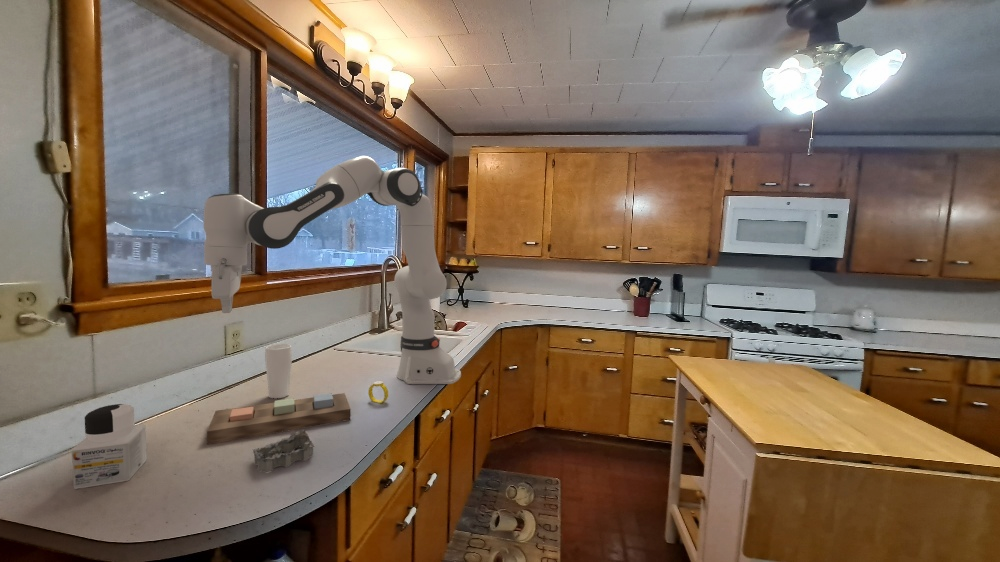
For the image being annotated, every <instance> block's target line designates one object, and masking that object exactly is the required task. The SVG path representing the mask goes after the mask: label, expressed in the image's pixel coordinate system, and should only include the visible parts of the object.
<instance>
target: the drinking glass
mask: <svg viewBox="0 0 1000 562" xmlns="http://www.w3.org/2000/svg"><path fill="white" fill-rule="evenodd" d="M292 347H293V346H292V345H291V344H290V343H275V344H269V345H267V346H266V347H265V352H264V353H265V354H264V355H265V356H264V358H265V359H264V360H265V369H266V379H267V387H268V388H267V389H268V397H269V398H270V399H273V398H274V399H277V398H278V399H284V398H285V397H288V396H289V394H290V386H291V385H290V384H291V372H292V362H293V361H292V360H293V348H292Z"/></svg>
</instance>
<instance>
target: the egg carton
mask: <svg viewBox="0 0 1000 562" xmlns="http://www.w3.org/2000/svg"><path fill="white" fill-rule="evenodd" d="M298 448H299V449H298ZM314 448H315V445H314V443H313V441H312V440H311V439H310V436H309V434H308V433H307V431H306V429H303V430H298V431H295V432H293V433H291V434H290V435H289V437H286V438H281V439H280V440H279V441H276V442H271V443H269V444H267V445H265V446H263V447H261V448H260V447H258V448H254V449H252V453H253V454H254V463H253V464H254V465H257V472H258V473H261V472H264V473H266V474H267V473H271V472H272V471H274V468H277V467H280V466H282V467H285V468H286V467H289V466H292V464H293V463H294V462H296V461H303V462H305V461H309V460H310V458H311V457H312V456H313V454H314ZM295 449H297V450H295Z"/></svg>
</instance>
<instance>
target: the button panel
mask: <svg viewBox="0 0 1000 562" xmlns="http://www.w3.org/2000/svg"><path fill="white" fill-rule="evenodd" d="M332 396H333V406H332V407H325V408H318V409H314V396H313V397H307V398H306V397H305V398H301V399H299V398H298V399H294V410H295V412H292V413H285V414H279V415H274V404H275V402H271V403H263V404H262V403H261V404H257V405H256V404H254V405H248V406H241V407H240V406H239V407H234V408H226V409H220V410H215V412H214V414H213V416H212V419H211V421H210V424H209V426H208V428H207V430H206V445H210V444H212V445H214V444H217V443H222V442H229V441H230V442H231V441H235V440H239V439H240V440H241V439H246V438H253V437H259V436H265V435H270V434H271V435H272V434H276V433H277V434H278V433H281V432H282V431H283V432H288V430H289V431H294V430H299V429H300V428H301V429H305V428H312V427H317V426H323V425H329V424H335V423H340V422H347V421H351V416H352V415H351V413H352V412H351V410H352V409H351V407H350V404H349V401H348V399H347V395H346V393H345V392H342V393H334V394H332ZM247 407H254V418H252V419H245V420H239V421H232V422H230V415H231V412H232V410H233V409H240V408H247Z"/></svg>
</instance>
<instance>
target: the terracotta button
mask: <svg viewBox="0 0 1000 562" xmlns="http://www.w3.org/2000/svg"><path fill="white" fill-rule="evenodd" d="M246 407H247V406H246ZM252 418H254V407H247V408H240V409H233V410H232V412H231V415H230V422H232V421H239V420H245V419H252Z"/></svg>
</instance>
